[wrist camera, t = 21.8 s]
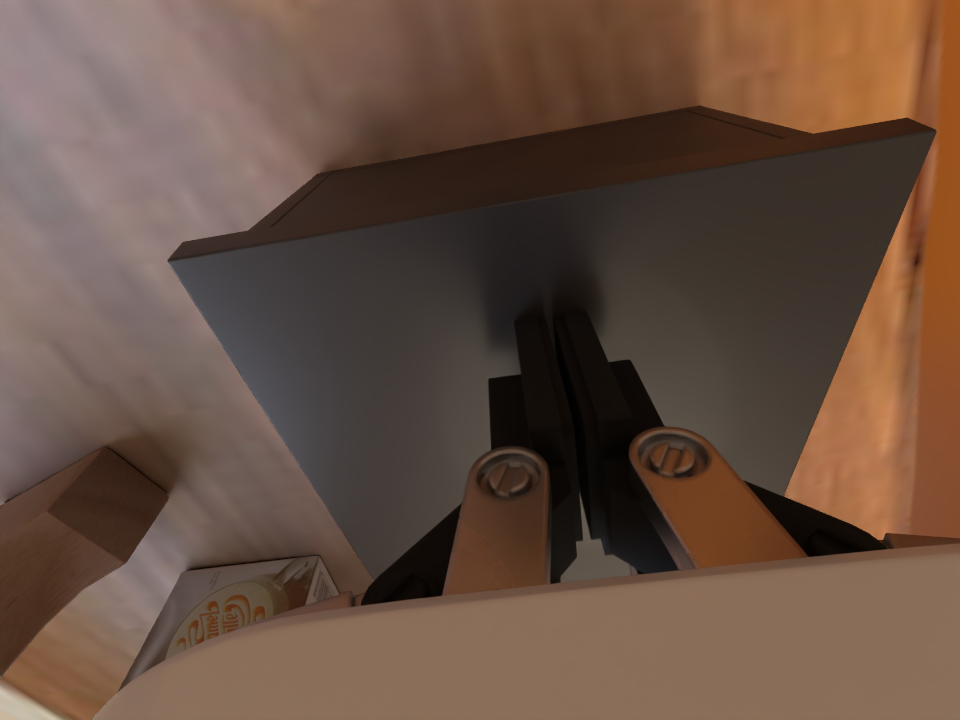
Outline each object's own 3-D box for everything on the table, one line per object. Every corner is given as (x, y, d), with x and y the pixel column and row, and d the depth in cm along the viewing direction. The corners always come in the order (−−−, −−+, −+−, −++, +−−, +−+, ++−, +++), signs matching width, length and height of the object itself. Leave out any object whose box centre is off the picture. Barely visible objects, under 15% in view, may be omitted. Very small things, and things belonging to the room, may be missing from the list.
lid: (181, 241, 10) (165, 260, 10) (907, 116, 9) (939, 129, 9) (392, 588, 21) (390, 608, 20) (745, 547, 20) (754, 567, 19)
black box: (316, 173, 19) (243, 232, 13) (700, 105, 18) (818, 133, 12) (410, 466, 27) (393, 588, 21) (680, 430, 26) (744, 547, 20)
